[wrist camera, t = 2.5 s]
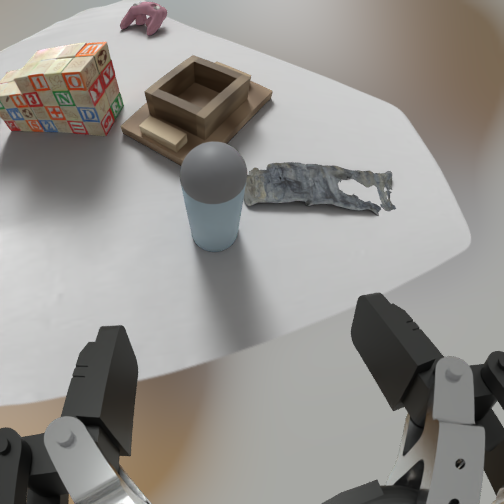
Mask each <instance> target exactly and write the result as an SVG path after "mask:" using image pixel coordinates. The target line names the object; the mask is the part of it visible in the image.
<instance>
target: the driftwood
mask: <svg viewBox="0 0 504 504" xmlns="http://www.w3.org/2000/svg"><path fill="white" fill-rule="evenodd" d="M347 178H350V179H354V180H356V181H357V182H359V183H361V184H363V185H364V186H365V187H370V186H372V185H375V186H376V187H377V189H378V193H379V196H380V200H381V202H382V204H380V205H381V207H382V208H383V209H384V210H385V211H391V210H392V209H396V208H395V206H394V205H392V203H391V201H390V193H391V192H390V191H389V189H391V190H392V187H391V184H392V172H391V171H387V172H386V173H383V174H380V173H375V174H374V173H373V172H371V171H359V170H357V171H352V170H347V169H344V168H341V167H338V166H322V165H318V164H306V165H305V164H302V163H293V162H291V163H272V164H268V166H267V170H259V169H258V168H253V170H251V171H249V175H247V181H246V186H245V192H244V200H245V202H246V204H247V205H248V206H251V205H254V204H255V203H258V202H273V203H283V202H292V201H305V202H306V204H305V205H306V206H311V205H313V204H333V205H336V206H340V207H344V208H346V209H351V210H352V209H353V210H365V209H369V210H372V211H373V212H374V213H375V214H377V215H378V216H379V214H378V212H379V211H380V210H381V207H379V206H378V205H376V204H374V203H371V202H370V201H368V202H364V201H362V200H360V199H358V197H357V196H355V195H354V194H353V195H347V194H345V193H343V192H342V191H341V190H339V187H338V182H339V181H340V182H341V179H344V180H347ZM384 187H386V189H387V191H386V192H384ZM387 195H388V200H387V197H386V196H387Z"/></svg>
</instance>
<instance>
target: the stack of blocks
mask: <svg viewBox="0 0 504 504" xmlns="http://www.w3.org/2000/svg"><path fill="white" fill-rule="evenodd" d="M123 106H124V105H123V101H122V97H121V94H120V92H119V88H118V84H117V80H116V77H115V71H114V68H113V64H112V60H111V58H110V54H109V49H108V45H107V42H98V43H88V44H87V43H76V44H70V45H65V46H59V47H54V48H48V49H43V50H38V51H37V52H36V53H35V54H34V55H33V56H32V58H31V59H30V60H29V61H28V62H27V63H26V65H25V66H24V67H23V68H22V69H18V70H12V71H9V72H8V73H7V74H6V75H5V76H4V78H3V79H2V80H1V81H0V117H1V118H2V119H3V121H4V122H5V123H6V125H7V126H8V127H9V129H10V130H11V131H34V132H45V131H46V132H66V133H75V134H88V135H97V136H107V134H108V132H109V130H110V128H111V127H112V125H113V123H114V121H115V119H116V117H117V116H118V114H119V112H120V111H121V109H122V108H123Z"/></svg>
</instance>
